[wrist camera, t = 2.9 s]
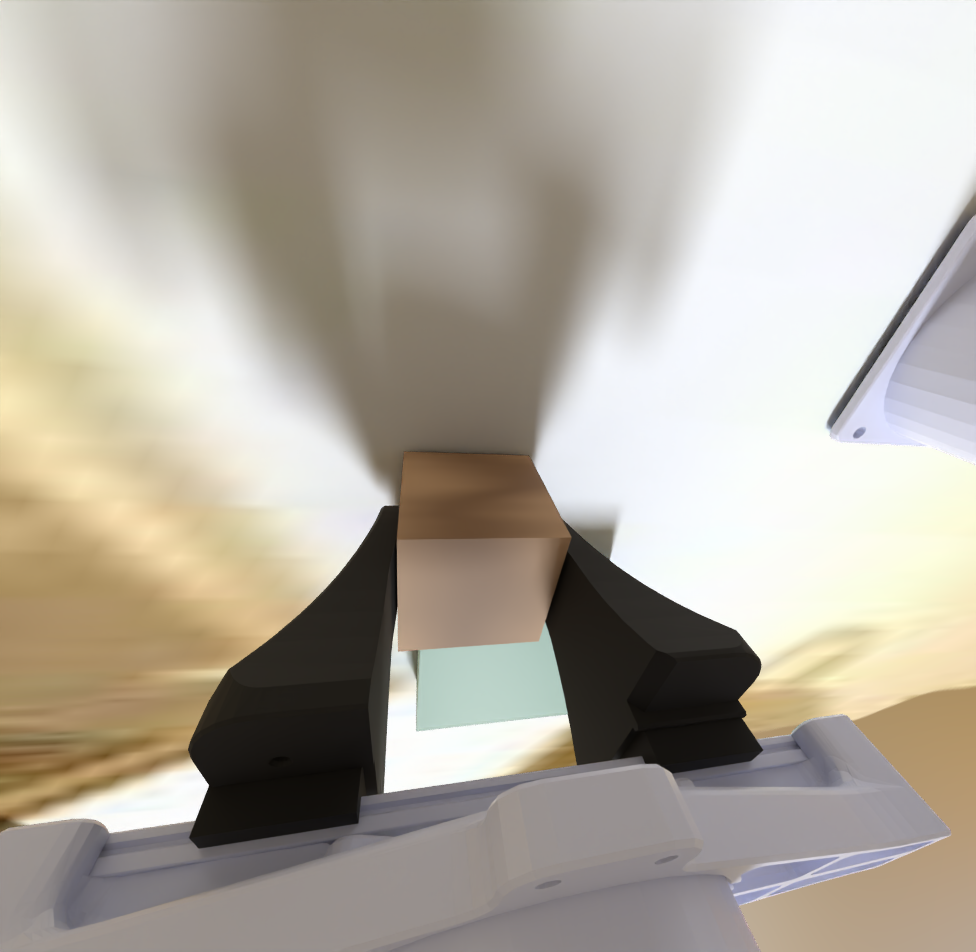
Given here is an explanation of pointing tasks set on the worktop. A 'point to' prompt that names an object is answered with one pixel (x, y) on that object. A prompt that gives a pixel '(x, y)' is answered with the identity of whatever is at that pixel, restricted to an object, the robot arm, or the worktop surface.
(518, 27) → the worktop surface
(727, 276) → the worktop surface
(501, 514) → the walnut cube
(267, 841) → the robot arm
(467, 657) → the base block
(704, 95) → the worktop surface
